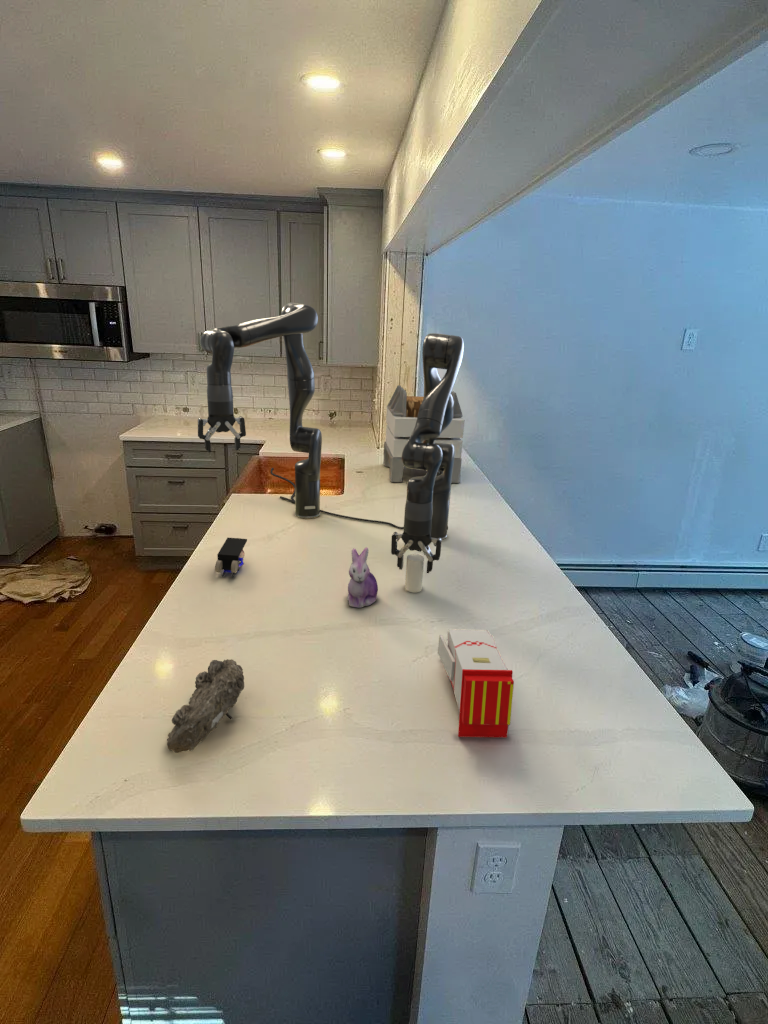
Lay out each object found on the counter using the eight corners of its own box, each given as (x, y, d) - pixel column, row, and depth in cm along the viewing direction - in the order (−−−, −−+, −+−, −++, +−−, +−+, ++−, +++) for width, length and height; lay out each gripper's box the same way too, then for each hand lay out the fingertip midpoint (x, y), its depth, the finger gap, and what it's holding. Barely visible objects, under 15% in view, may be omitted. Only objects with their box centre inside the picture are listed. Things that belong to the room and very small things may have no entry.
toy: (488, 613, 130) (523, 677, 101) (484, 667, 133) (517, 744, 104) (435, 612, 130) (455, 676, 101) (432, 666, 133) (451, 743, 103)
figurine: (354, 612, 147) (355, 559, 142) (338, 595, 155) (339, 544, 150) (386, 605, 151) (388, 553, 146) (369, 588, 160) (371, 539, 155)
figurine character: (238, 584, 162) (249, 557, 175) (236, 562, 158) (247, 536, 172) (215, 584, 161) (227, 556, 175) (212, 561, 158) (225, 535, 171)
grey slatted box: (382, 463, 289) (386, 382, 275) (445, 464, 293) (451, 384, 279) (390, 482, 257) (394, 392, 243) (460, 483, 261) (468, 394, 247)
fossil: (192, 660, 117) (244, 628, 112) (224, 691, 120) (276, 661, 115) (142, 746, 98) (202, 712, 93) (182, 779, 101) (242, 748, 96)
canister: (402, 590, 160) (404, 558, 157) (407, 583, 164) (409, 552, 161) (418, 593, 158) (421, 562, 155) (423, 586, 163) (426, 555, 159)
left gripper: (240, 396, 179) (243, 446, 184) (193, 397, 173) (197, 449, 178) (246, 400, 172) (248, 452, 178) (198, 401, 166) (201, 455, 172)
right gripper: (389, 516, 152) (386, 572, 157) (442, 523, 149) (438, 579, 154) (395, 508, 159) (392, 561, 164) (446, 514, 156) (441, 568, 161)
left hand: (223, 450), depth 178 cm, fingers open, 8 cm apart
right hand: (414, 570), depth 159 cm, fingers open, 7 cm apart
